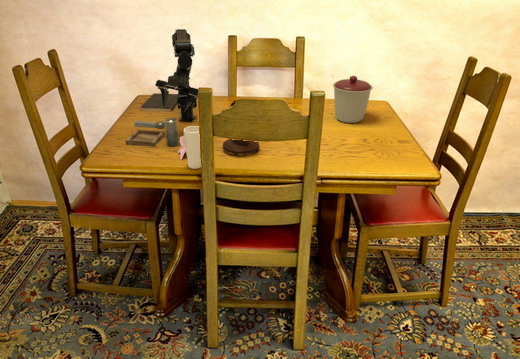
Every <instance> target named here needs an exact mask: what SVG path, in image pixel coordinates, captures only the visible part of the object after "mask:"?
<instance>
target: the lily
mask: <svg viewBox="0 0 520 359" xmlns="http://www.w3.org/2000/svg"><path fill="white" fill-rule="evenodd" d="M179 143H180V147H179V149H178V151H177V154H179V153H180V157H179V158H180V160H182V159H183V157H184V154H185V153H186V148H185V142H184V135H182V136H180V137H179Z"/></svg>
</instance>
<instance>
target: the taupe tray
mask: <svg viewBox="0 0 520 359" xmlns="http://www.w3.org/2000/svg"><path fill="white" fill-rule="evenodd" d="M165 136H166V130H165V131H164V130H152V129H151V130H150V129H136V130H135V131H134V132H133V133H132V134H130V135H129V136H128V137H127V138H126V139H125V141H124V142H125V145H128V146H142V147H152V148H153V147H156V146H157V145H158V144H159V143H160V141H161V140H162V139H163V138H164V137H165Z"/></svg>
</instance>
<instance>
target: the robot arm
mask: <svg viewBox="0 0 520 359" xmlns="http://www.w3.org/2000/svg"><path fill="white" fill-rule="evenodd" d="M171 41H172V42H171V43H172V44H171V45H172V47H173V53H174V58H177V66H176V70H175V71H174V72H173V74H172V75H169V76H167V81H166V80H161V79H157V80H156V81H155V85H154V86H155V87H157V89H158V90H159V91H160V94H162V102H163V106H164V107H165V105H166V101H167V98H168V94H170V91H169V90H172V91H177V94H178V96H177V105H176V106H177V109H178V110H180V118H179V119H178V121H179V122H189V123H192V122H193V121H194V120H195V119H196V118H197V116H195V115H194V109H196V107H197V108H198V104H197V103H198V102H197V101H198V98H199V97H198V88H196V87H191V86H190V79H191V76H190V74H191V70H192V67H193V59H192V58H193V57H194V56H195V55H196V53H195V46H194V44H193V43H192V41H191V34H190V33H188V32H187V29H185V28H183V29H182V28H181V29H180V28H177V29H175V32H174V33H173V34H172V35H171Z"/></svg>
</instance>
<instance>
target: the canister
mask: <svg viewBox="0 0 520 359" xmlns="http://www.w3.org/2000/svg"><path fill="white" fill-rule="evenodd" d="M332 86H333V93H334V95H333V96H334V100H333V101H334V115H335V118H336V119H337V120H338V121H340V122H342V123H347V124H348V123H349V124H355V123H356V124H357V123H359V122H361V121H362V120H364V118H365V115H366V113H367V108H368V103H369V99H370V95H371V91H372V90H373V85H372V84H371V83H369V82H368V81H365V80H361V79H358V77H357V76H356V75H351V76H350V77H349V78H346V79H340V80H338V81H336V82H334V83H333V84H332Z"/></svg>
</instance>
